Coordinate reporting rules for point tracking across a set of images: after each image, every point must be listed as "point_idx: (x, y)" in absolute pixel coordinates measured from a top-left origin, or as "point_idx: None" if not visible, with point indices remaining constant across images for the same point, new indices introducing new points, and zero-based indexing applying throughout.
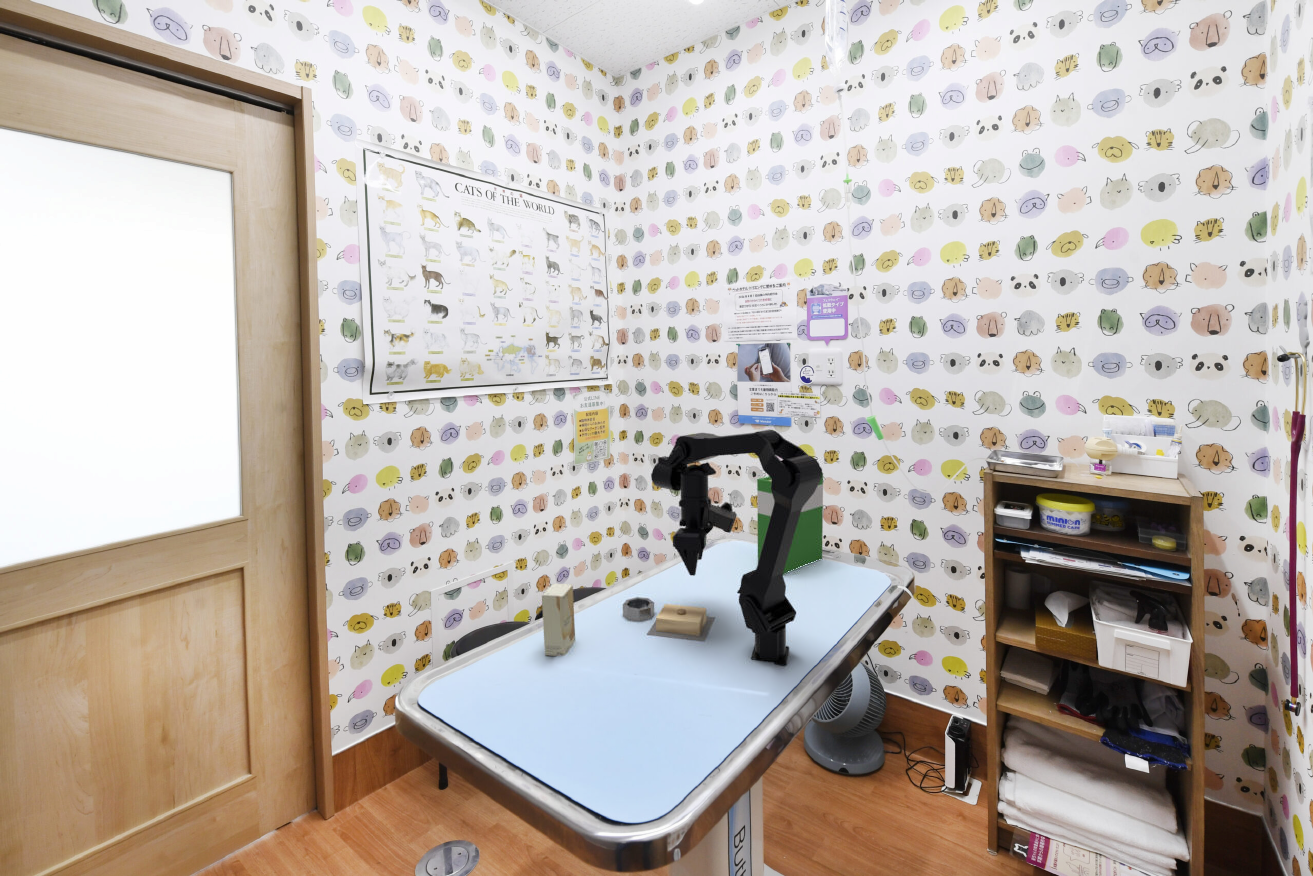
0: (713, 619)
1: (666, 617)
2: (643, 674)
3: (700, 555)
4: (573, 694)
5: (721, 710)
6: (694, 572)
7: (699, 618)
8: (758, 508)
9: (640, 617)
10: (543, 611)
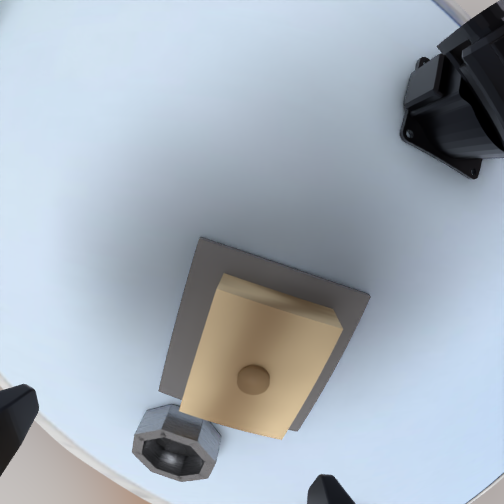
0: (217, 247)
1: (281, 417)
2: (445, 413)
3: (18, 407)
4: (444, 474)
5: None
6: (340, 492)
7: (308, 324)
8: None
9: (217, 446)
10: None
